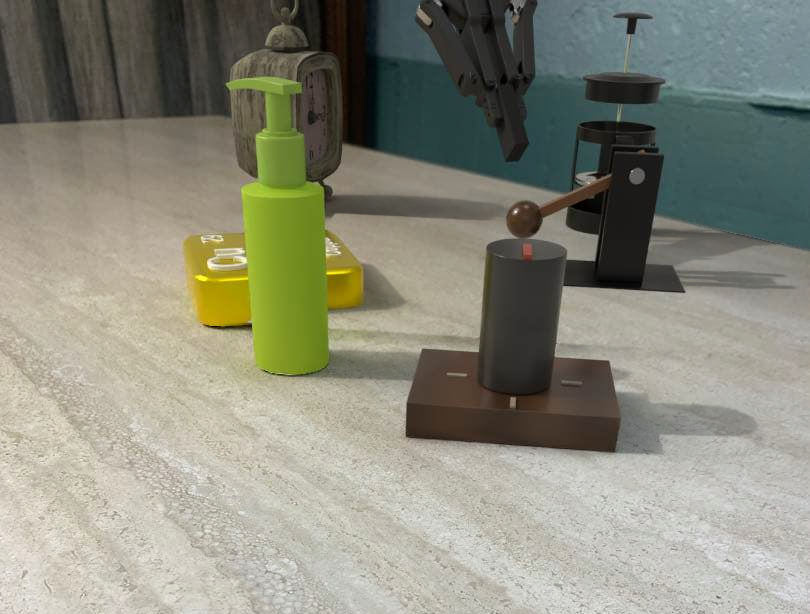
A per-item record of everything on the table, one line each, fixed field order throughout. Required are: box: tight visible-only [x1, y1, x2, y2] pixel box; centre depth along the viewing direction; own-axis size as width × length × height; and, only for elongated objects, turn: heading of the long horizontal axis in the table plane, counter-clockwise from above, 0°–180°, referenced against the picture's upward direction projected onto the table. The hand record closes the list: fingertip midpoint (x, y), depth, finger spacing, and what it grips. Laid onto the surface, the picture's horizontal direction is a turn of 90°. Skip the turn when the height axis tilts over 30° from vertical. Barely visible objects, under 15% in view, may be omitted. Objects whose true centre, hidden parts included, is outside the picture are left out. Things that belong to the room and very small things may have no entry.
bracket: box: [563, 144, 686, 294], centre depth 84 cm, size 12×9×13 cm
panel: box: [405, 347, 622, 453], centre depth 61 cm, size 14×10×3 cm
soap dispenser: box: [225, 77, 330, 375], centre depth 64 cm, size 6×7×20 cm
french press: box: [565, 12, 667, 236], centre depth 98 cm, size 12×9×23 cm
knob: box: [477, 237, 568, 394], centre depth 58 cm, size 5×5×9 cm
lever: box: [505, 150, 645, 239], centre depth 83 cm, size 14×4×4 cm, turn 83°
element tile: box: [182, 228, 364, 328], centre depth 81 cm, size 15×15×5 cm
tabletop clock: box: [229, 0, 344, 199], centre depth 108 cm, size 14×9×25 cm, turn 161°
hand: (517, 152), depth 84 cm, fingers closed
